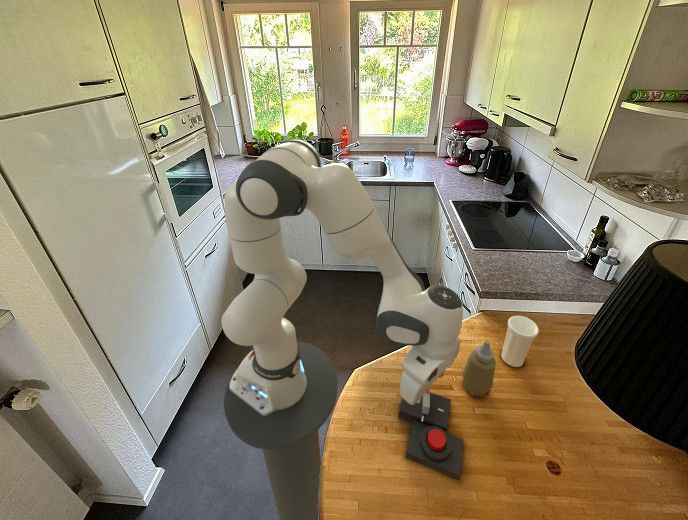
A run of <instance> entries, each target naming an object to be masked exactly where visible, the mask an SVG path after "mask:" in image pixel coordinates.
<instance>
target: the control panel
mask: <svg viewBox="0 0 688 520" xmlns="http://www.w3.org/2000/svg"><path fill="white" fill-rule="evenodd" d="M401 398H402V397H401ZM451 403H452V399H451V398H448V397H445V396H442V395H440V394H436V393H433V392H431V391H430V409H429V414H423V413H422V409H423V399H422V400H421V402H420V403H419V404H418V403H417V402H416V403H415V404H414V405H411V404H409V403H408V402H407V401H405V400H404V399H403V398H402V399H401V402H400V406H399V410H398V418H399V419H402V420H405V421H407V422H410V423H412V424H413V421H414V420H415V421H418V422H420V423H423V424H425V425H428V426H430V427H431V426H436V427H439V428H442V429H443V430H444V431H445V432H446V433H447V430H448V424H449V418H450V411H451Z"/></svg>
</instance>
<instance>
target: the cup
mask: <svg viewBox="0 0 688 520" xmlns="http://www.w3.org/2000/svg"><path fill="white" fill-rule="evenodd" d="M539 330H540V329H539V327H538V324H536V323H535V322H534V321H533V320H532V319H531V318H529V317H526V316H523V315H513V316H510V317H509V318H508V320H507V330H506V334H505V337H504V343H503V346H502V350H501V355H500V357H501V358H502V360H503V362H504V363H505V364H507V365H509V366H510V367H513V368H518V367H522V366H523V365H524V362H525V360H526V358H527V355H528V353H529V350H530V348H531V346H532V344H533V342H534V340H535V339H536V337H538V335H539V333H540V331H539Z"/></svg>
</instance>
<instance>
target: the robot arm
mask: <svg viewBox="0 0 688 520" xmlns="http://www.w3.org/2000/svg"><path fill="white" fill-rule="evenodd" d="M305 209H306V210H308V211H310V212H311V213H312V214H313V216H314V217H315V218H316V220H317V221H318V223H319V225H320V228H321V229H322V231H323V232H324V235H325V237H326V238H327V240H328V242H329V243H330V244H331V246H332V248H333V249H334V250H335V251H336V253H338V254H339V255H340V256H341V257H345V258H348V259H362V258H366V257H369V256H370V258H371V259H372V261H373V263H374V264H375V266H376V267H377V269H378V271H379V272H380V274H381V276H382V280H383V287H382V293H381V298H380V303H379V305H378V310H377V315H376V318H375V319H376V320H375V325H376V328H377V331H378V332H379V334H380V335H381V336H382V337H383V338H384V339H386V340H387V341H389V342H391V343H394V344H397V345H400V346H408V347H409V346H411V348H410V349H409V351H408V352H407V354H406V355H405V357H404V358H403V360H402V361H401V368H402V369H403V371H402V373H401V377H400V382H399V383H400V384H399V395H400V397H401V398H403V399H404V400H405V401H407V402H408V403H409V404H411V405H414V404H415V403H416V402H417V403H418V404H419V403H420V402H421V400H422V399H423V394H424V393H425V392H426V391H427V390H428V389H430V388H431V387H432V385H433V384H434V383H435V382H436V381H437V380H438V379H442V378H443V377H444V375H445V372H446V370H447V369H449V368H450V367H451V366H452V365H453V364H454V362H455V359H456V358H458V356H459V353H460V351H461V349H460V348H461V338H460V337H459V336H460V334H461V329H462V325H463V319H464V306H463V302H462V300H461V298H460V296H459V295H458V293H456V292H455V291H454V290H453V289H452V288H449V287H448V286H446V285H441V284H433V285H431V286H429V287H428V288H427V289H426V288H425V284H424V281H423V280H422V278H421V277H420V276H419V275H418V274H417V273H416V272H415V271H414V270H412V269H411V268H410V266H409V265H408V264H407V263H406V262H405V260H404V258H403V256H402V254H401V253H400V251H399V250H398V247H397V245H396V244H395V243H394V240H393V238H392V237H391V236H390V234H389V233H388V231H387V230H386V228H385V226H384V224H383V222H382V220H381V218H380V216H379V213H378V211H377V209H376V207H375V205H374V203H373V201H372V199H371V197H370V196H369V193H368V192H367V190H366V188H365V187H364V185H363V184H362V182H361V181H360V179H359V178H358V176H357V175H356V174H355V173H354V171H353V170H352V169H351V167H349V166H348V165H346V164H344V163H341V162H340V163H338V162H337V163H334V162H333V163H329V164H325V165H323V166H322V159H321V156H320V154H319V152H318V150H317V149H316V148H315V147H314V146H313V145H312V144H311V143H309V142H307V141H305V140H302V139H290V140H285V141H283V142H281V143H279V144H278V145H275V146H273V147H271V148H269V149H267V150H266V151H265V152H263V153H262V154H261V155H259V157H257V159H255V160H254V161H251V162H250V163H249V164H247V165H246V166H245V167H244V168H243V170H242V171H241V172H240V174H239V176H238V177H237V180H235V181H234V182H231V184H230V185H228V187H227V188H226V189H225V192H224V215H225V218H224V219H225V223H226V224H225V225H226V229H227V235H228V238H229V243H230V248H231V251H232V257H233V259H234V263H235V265H236V266H237V267H238V268H239V269H240V270H242V271H243V272H245V273H248V274H252V275H254V278H253V280H252V282H251V283H250V284H249V285H248V286H247V287H245V288H244V289H243V290H242V291H241V292H240V293H239V294H238V295H237V296H236V297H235V298H234V299H233V300H232V302H230V304H229V306H228V307H227V308H226V310H225V311H224V313H222V314H223V315H222V316H221V328H222V330H223V333H224V334H225V336H226V338H227V339H229V340H230V341H231V342H232V343H233V344H236V345H238V346H243V347H249V351H250V352H248V354H247V355H246V356H245V357H244V358H243V360H242V361H241V363H240V364H239V365H240V366H239V365H238V367H239V368H238V367H237V368H238V369H237V368H236V369H237V370H236V369H235V370H236V372H235V371H234V372H235V373H234V372H233V373H234V375H233V374H232V375H233V377H232V376H231V377H232V379H231V381H230V386H229V388H230V390H231V391H232V392H233V393H234V394H235V395H237V396H238V397H239V398H241V399H242V400H243V401H244V402H246V403H247V404H248V405H249V406H251V407H252V408H253V409H255V410H256V411H257V412H258V413H260V414H261V415H262V416H267V415H269V414H271V413H273V412H274V411H277V410H281V409H285V408H288V407H290V406H292V405H294V404H295V403H296V402H298V401H299V400H300V399H301V397H302V396H303V394H304V393H305V390H306V387H307V378H306V375H305V373H304V369H303V366H302V363H301V360H300V352H299V347H298V344H297V342H298V341H297V335H296V334H297V333H296V328H295V326H294V324H293V323H292V321H290V320H289V319H287V318H285V317H284V316H285V315H286V313H287V312H288V310H289V309H290V308H291V307H292V305H293V304H294V303H295V302H296V300H297V299H298V298H299V297H300V296H301V293H302V292H303V290H304V287H305V285H306V283H307V280H308V276H307V272H306V270H305V268H304V266H303V265H302V263H299V261H297V260H295V259H292V258H289V256H288V254H287V251H286V248H285V242H284V237H283V236H284V235H283V231H282V225H281V224H282V223H281V219H282V218H284V217H285V218H286V217H297V216H300V215H302V214H303V212H304V211H305ZM234 380H235V381H234ZM261 408H263V409H261Z"/></svg>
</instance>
